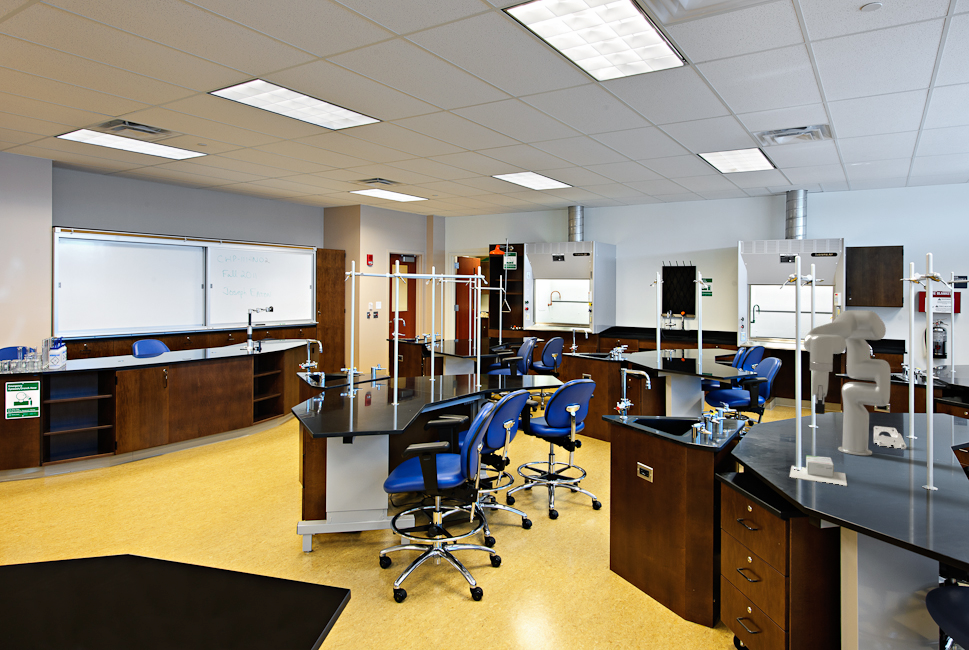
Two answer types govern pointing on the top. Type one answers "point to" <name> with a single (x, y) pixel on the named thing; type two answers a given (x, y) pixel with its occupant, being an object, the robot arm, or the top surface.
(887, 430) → the mounting bracket
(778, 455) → the top surface
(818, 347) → the robot arm
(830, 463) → the ink box
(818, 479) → the bench mat
